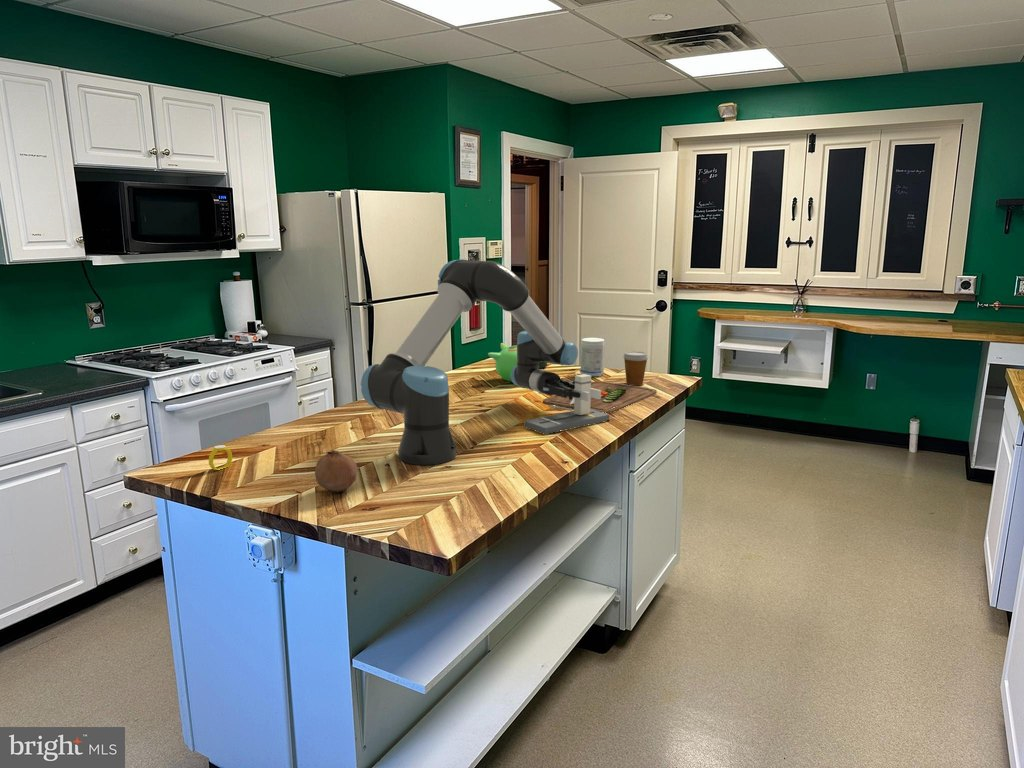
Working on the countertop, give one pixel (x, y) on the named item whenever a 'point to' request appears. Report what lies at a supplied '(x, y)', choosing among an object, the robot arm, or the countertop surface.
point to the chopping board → (606, 397)
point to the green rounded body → (505, 360)
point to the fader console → (564, 421)
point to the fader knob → (585, 385)
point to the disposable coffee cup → (635, 367)
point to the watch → (216, 449)
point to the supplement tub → (592, 356)
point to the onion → (336, 471)
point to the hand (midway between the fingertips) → (594, 396)
